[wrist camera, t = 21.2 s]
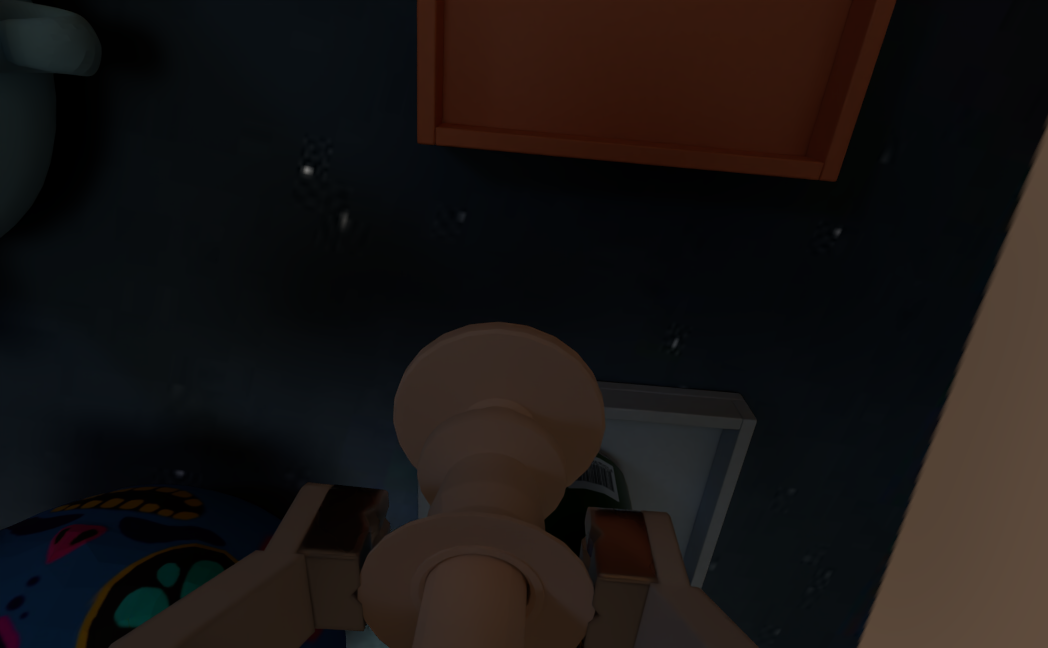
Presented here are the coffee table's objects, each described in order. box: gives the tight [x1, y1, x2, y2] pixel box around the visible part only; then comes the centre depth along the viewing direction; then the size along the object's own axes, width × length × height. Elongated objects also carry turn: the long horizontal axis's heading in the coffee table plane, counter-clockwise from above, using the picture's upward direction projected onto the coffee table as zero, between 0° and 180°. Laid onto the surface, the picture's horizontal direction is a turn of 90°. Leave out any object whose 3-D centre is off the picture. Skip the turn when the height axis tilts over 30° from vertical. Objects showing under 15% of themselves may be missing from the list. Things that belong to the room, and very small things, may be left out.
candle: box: [358, 322, 606, 648], centre depth 9 cm, size 5×5×10 cm
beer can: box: [544, 451, 633, 648], centre depth 20 cm, size 5×5×12 cm
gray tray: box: [418, 381, 757, 589], centre depth 26 cm, size 14×11×2 cm
